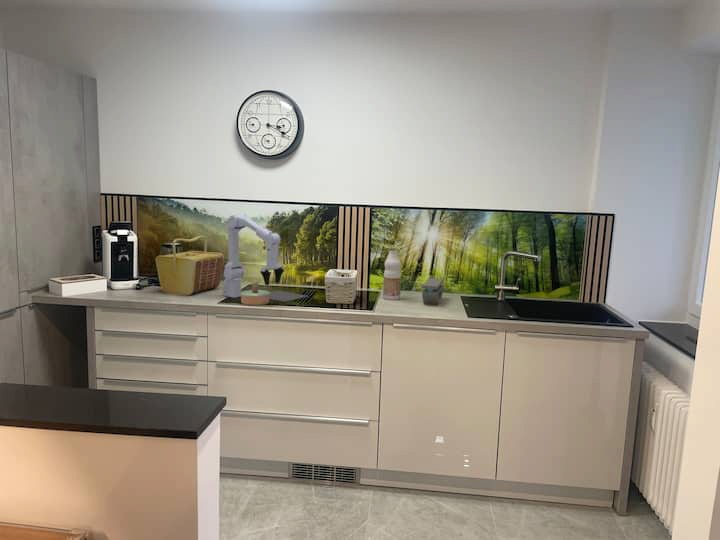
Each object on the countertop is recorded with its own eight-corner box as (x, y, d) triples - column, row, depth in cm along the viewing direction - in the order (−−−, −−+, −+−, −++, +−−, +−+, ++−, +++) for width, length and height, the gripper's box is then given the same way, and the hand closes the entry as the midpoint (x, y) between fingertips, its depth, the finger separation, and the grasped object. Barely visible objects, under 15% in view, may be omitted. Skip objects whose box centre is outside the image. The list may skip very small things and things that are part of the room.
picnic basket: (194, 297, 304) (193, 240, 300) (154, 292, 313) (153, 237, 309) (225, 288, 331) (225, 236, 327) (188, 284, 340) (187, 233, 336)
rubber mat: (252, 296, 310) (252, 295, 310) (278, 291, 326) (278, 290, 326) (283, 302, 297) (283, 301, 297) (308, 297, 313) (308, 295, 313)
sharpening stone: (436, 307, 298) (437, 286, 296) (421, 305, 300) (422, 285, 298) (442, 298, 321) (443, 279, 320) (428, 297, 324) (429, 277, 322)
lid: (234, 293, 294) (234, 283, 293) (255, 289, 306) (255, 279, 305) (255, 297, 285) (255, 286, 284) (276, 293, 297) (276, 282, 296)
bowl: (235, 302, 294) (235, 293, 294) (255, 298, 306) (255, 290, 305) (255, 306, 286) (255, 297, 286) (274, 302, 298) (274, 293, 297)
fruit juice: (383, 300, 311) (385, 248, 307) (382, 296, 320) (384, 246, 316) (400, 300, 311) (403, 249, 307) (399, 297, 321) (401, 247, 316)
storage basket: (354, 305, 297) (355, 276, 295) (323, 303, 298) (323, 275, 296) (357, 296, 321) (358, 269, 319) (328, 294, 322) (329, 268, 320)
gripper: (268, 259, 283) (267, 286, 285) (288, 257, 295) (287, 283, 297) (257, 258, 287) (257, 285, 289) (277, 255, 299) (277, 281, 301)
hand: (272, 283), depth 293 cm, fingers open, 7 cm apart
